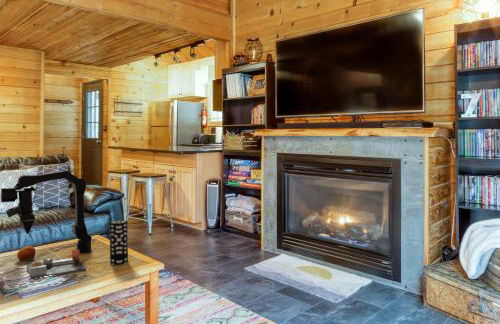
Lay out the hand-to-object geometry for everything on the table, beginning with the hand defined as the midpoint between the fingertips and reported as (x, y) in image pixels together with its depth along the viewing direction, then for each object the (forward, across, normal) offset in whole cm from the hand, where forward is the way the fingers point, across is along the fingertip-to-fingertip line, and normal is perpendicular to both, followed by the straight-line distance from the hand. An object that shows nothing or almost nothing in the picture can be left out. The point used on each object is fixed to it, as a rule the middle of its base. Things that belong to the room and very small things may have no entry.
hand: (26, 231), depth 194 cm
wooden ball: (+14, +27, +2) cm, 30 cm away
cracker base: (+14, +22, +10) cm, 28 cm away
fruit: (+15, -1, 0) cm, 15 cm away
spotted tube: (+15, +28, +37) cm, 49 cm away
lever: (+13, +20, +11) cm, 26 cm away
